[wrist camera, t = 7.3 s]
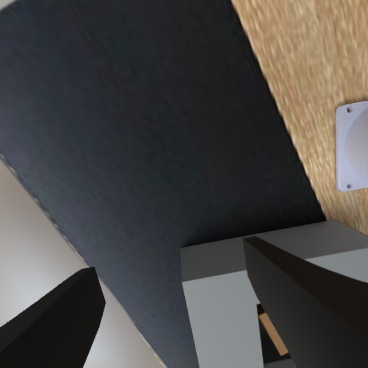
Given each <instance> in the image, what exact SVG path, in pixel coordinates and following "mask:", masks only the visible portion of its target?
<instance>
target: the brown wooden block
mask: <svg viewBox="0 0 368 368" xmlns="http://www.w3.org/2000/svg"><path fill="white" fill-rule="evenodd" d="M256 305H257V313H258V315H259V317H260V319H261V321H262V323H263V324H264V326H265V328H266V330H267V332H268V333H269V335H270V337H271V339H272V341H273V342H274V344H275V346H276V348H277V350H278V351H279V353H280V355H281V356H282V355H284V354H286V353H288V350H287V348H286V347H285V345H284V343H283V341H282V340H281V338H280V336H279V335H278V333H277V331H276V329H275V328H274V326H273V324H272V322H271V321H270V319H269V317H268V316H267V314H266V312H265V310H264V309H263V307H262V305H261V303H260V304H256Z"/></svg>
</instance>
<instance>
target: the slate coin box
mask: <svg viewBox="0 0 368 368" xmlns="http://www.w3.org/2000/svg"><path fill="white" fill-rule="evenodd" d="M253 236H256V237H259V238H261V239H263V240H265V241H267V242H269V243H271V244H273V245H275V246H277V247H279V248H281V249H283V250H285V251H287V252H289V253H291V254H293V255H295V256H297V257H299V258H302V259H304V260H306V261H309V262H311V263H313V264H316V265H318V266H320V267H323V268H326V269H328V270H331V271H334V272H337V273H339V274H342V275H345V276H348V277H351V278H354V279H357V280H360V281H363V282H367V283H368V236H367V235H365V234H363V233H361V232H359V231H357V230H355V229H353V228H351V227H349V226H347V225H345V224H343V223H341V222H339V221H337V220H330V221H324V222H319V223H313V224H308V225H302V226H297V227H291V228H286V229H281V230H275V231H270V232H264V233H259V234H253V235H248V236H243V237H237V238H232V239H226V240H221V241H215V242H210V243H205V244H199V245H194V246H188V247H183V248H181V269H182V284H183V289H184V294H185V298H186V303H187V308H188V313H189V318H190V323H191V327H192V332H193V337H194V342H195V347H196V351H197V356H198V361H199V366H200V368H296V366H295V364H294V362H293V360H292V358H291V356H290V354H289V352H288V353H286V354H284V355H282V356H281V355H280V353H279V351H278V350H277V348H276V346H275V344H274V342H273V341H272V339H271V337H270V335H269V333H268V332H267V330H266V328H265V326H264V324H263V323H262V321H261V319H260V317H259V315H258V313H257V305H256V304H260V302H259V300H258V298H257V296H256V294H255V292H254V290H253V287H252V285H251V283H250V280H249V278H248V276H247V268H246V261H245V253H244V245H243V238H247V237H253Z"/></svg>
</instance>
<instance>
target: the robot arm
mask: <svg viewBox="0 0 368 368" xmlns="http://www.w3.org/2000/svg"><path fill="white" fill-rule="evenodd" d="M347 108H349V112H347ZM348 184H349V186H348V187H347V185H348ZM336 188H337V190H338V191H340V192H347V191H352V190H358V189H363V188H368V101H362V102H357V103H351V104H346V105H341V106H339V107H338V108H337V109H336ZM243 245H244V253H245V261H246V268H247V276H248V278H249V280H250V283H251V285H252V287H253V290H254V292H255V294H256V296H257V298H258V300H259V302H260V303H261V305H262V307H263V309H264V310H265V312H266V314H267V316H268V317H269V319H270V321H271V322H272V324H273V326H274V328H275V329H276V331H277V333H278V335H279V336H280V338H281V340H282V341H283V343H284V345H285V347H286V348H287V350H288V352H289V354H290V356H291V358H292V360H293V362H294V364H295V366H296V368H368V283H367V282H363V281H360V280H357V279H354V278H351V277H348V276H345V275H342V274H339V273H337V272H334V271H331V270H328V269H326V268H323V267H320V266H318V265H316V264H313V263H311V262H309V261H306V260H304V259H302V258H299V257H297V256H295V255H293V254H291V253H289V252H287V251H285V250H283V249H281V248H279V247H277V246H275V245H273V244H271V243H269V242H267V241H265V240H263V239H261V238H259V237H256V236H253V237H247V238H243ZM105 304H106V302H105V298H104V295H103V292H102V289H101V286H100V283H99V280H98V277H97V273H96V270H95V267H90V268H85V269H81V270H79V271H78V272H76V273H75V274H73V275H72V276H70V277H69V278H68V279H66V280H65V281H63V282H62V283H61V284H59V285H58V286H57V287H55V288H54V289H53V290H52V291H50V292H49V293H47V294H46V295H45V296H43V297H42V298H41V299H40V300H38V301H37V302H35V303H34V304H33V305H31V306H30V307H28V308H27V309H26V310H24V311H23V312H21V313H20V314H19V315H17V316H16V317H14V318H13V319H12V320H10V321H9V322H7V323H6V324H5V325H3V326H1V327H0V368H83V366H84V364H85V361H86V359H87V356H88V354H89V351H90V349H91V346H92V344H93V341H94V339H95V336H96V334H97V331H98V329H99V326H100V323H101V319H102V316H103V312H104V307H105Z"/></svg>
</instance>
